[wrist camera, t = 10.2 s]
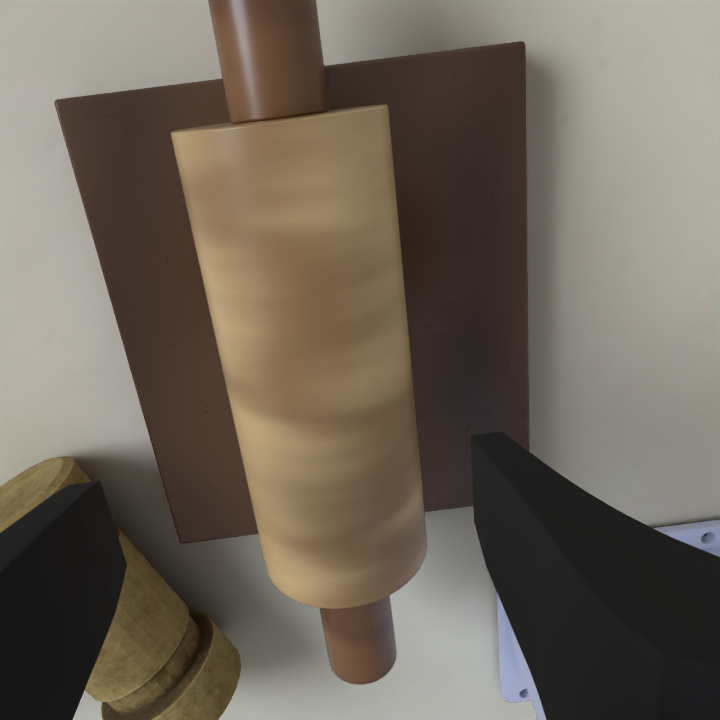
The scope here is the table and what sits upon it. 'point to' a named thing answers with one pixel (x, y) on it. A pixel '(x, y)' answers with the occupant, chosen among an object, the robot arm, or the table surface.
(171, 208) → the pastry board
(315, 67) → the rolling pin
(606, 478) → the table surface
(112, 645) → the gavel
